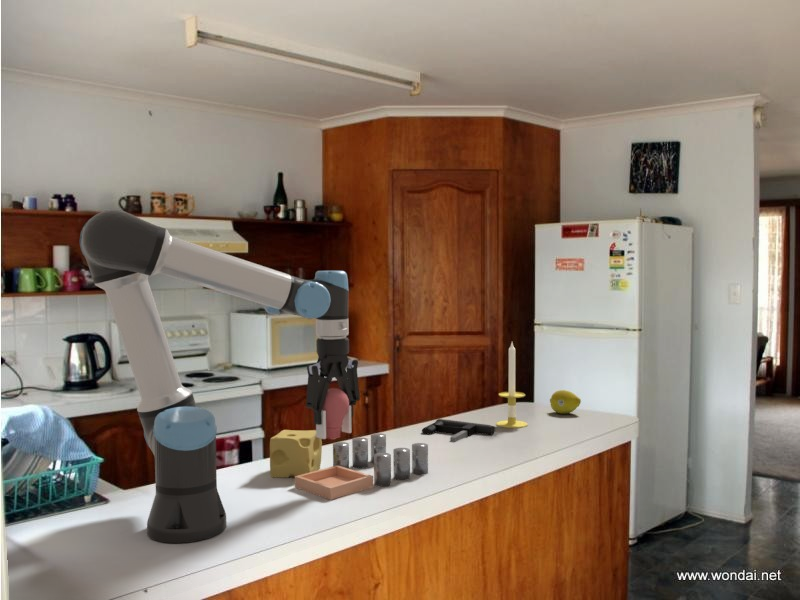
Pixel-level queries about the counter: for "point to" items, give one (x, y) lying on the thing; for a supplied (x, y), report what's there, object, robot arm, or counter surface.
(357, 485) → the dish
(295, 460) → the cheese
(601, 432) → the counter surface
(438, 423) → the black submachine gun
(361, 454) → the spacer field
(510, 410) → the candle
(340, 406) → the light bulb
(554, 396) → the lemon
